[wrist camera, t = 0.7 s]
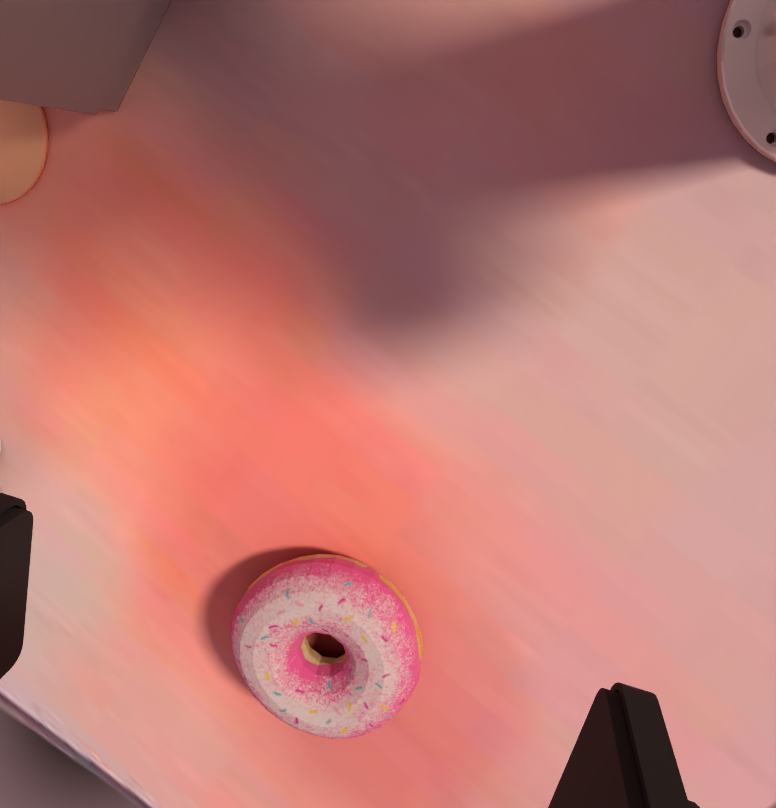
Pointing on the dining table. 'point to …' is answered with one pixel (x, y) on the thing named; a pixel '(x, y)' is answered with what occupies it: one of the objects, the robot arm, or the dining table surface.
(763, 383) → the dining table surface
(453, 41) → the dining table surface
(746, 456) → the dining table surface
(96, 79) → the case
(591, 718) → the robot arm
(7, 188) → the pad
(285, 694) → the donut
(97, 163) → the dining table surface
